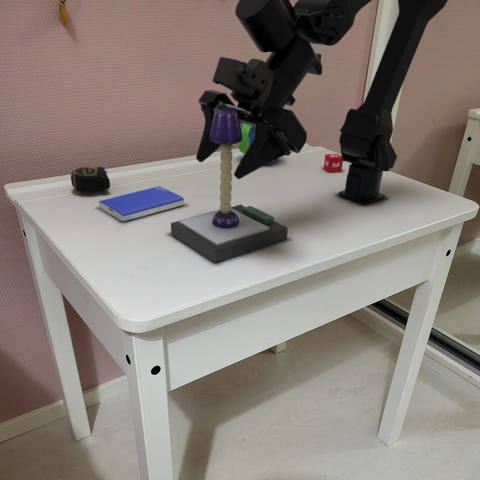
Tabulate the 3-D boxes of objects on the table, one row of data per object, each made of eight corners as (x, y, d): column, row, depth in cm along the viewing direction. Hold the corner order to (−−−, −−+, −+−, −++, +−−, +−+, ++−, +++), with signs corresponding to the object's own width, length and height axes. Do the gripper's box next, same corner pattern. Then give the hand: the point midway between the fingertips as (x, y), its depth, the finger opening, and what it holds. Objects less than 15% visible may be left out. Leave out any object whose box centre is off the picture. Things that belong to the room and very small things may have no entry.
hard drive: (158, 185, 92) (98, 199, 85) (183, 197, 87) (122, 213, 80) (158, 193, 93) (99, 208, 86) (184, 205, 88) (123, 222, 81)
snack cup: (258, 173, 105) (260, 123, 99) (221, 163, 110) (221, 115, 104) (298, 158, 115) (302, 112, 109) (262, 149, 120) (264, 105, 114)
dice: (328, 172, 106) (330, 158, 105) (323, 168, 109) (325, 154, 107) (341, 171, 107) (343, 157, 105) (336, 167, 110) (337, 153, 108)
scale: (240, 215, 85) (240, 199, 83) (287, 239, 77) (288, 222, 76) (171, 234, 78) (170, 218, 76) (215, 263, 70) (215, 245, 68)
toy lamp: (245, 227, 75) (248, 111, 65) (216, 232, 73) (216, 113, 64) (232, 216, 78) (234, 104, 69) (205, 220, 77) (203, 106, 67)
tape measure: (111, 195, 92) (109, 175, 90) (73, 198, 90) (70, 177, 88) (108, 183, 97) (105, 164, 95) (72, 185, 95) (69, 166, 93)
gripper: (208, 27, 69) (145, 118, 70) (299, 38, 57) (223, 148, 58) (249, 83, 78) (193, 165, 78) (336, 103, 66) (269, 199, 66)
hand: (216, 168), depth 70 cm, fingers open, 9 cm apart
